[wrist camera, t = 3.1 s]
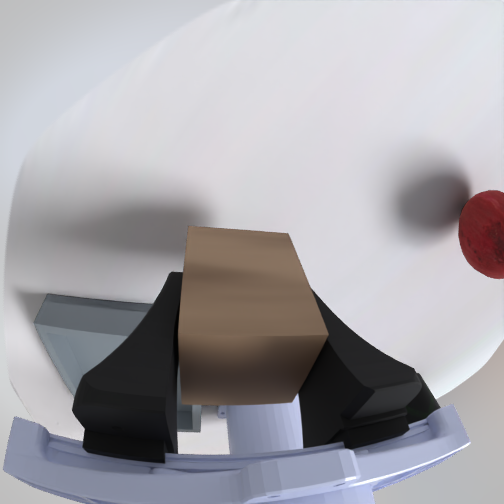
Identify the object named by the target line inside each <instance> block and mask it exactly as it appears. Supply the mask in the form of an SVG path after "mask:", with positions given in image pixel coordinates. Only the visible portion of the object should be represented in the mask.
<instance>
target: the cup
mask: <svg viewBox="0 0 504 504" xmlns="http://www.w3.org/2000/svg"><path fill="white" fill-rule="evenodd" d="M417 375H418V377H419V379H420V381H421V384H422V387H421V390H420V392H419V393H418V394H417V395H416V397H415V398H414V399H413V400H412V401H411V402H410V403H409V404H407V405H406V406H405V407H406V410H407V415H405V418H406V421H407V423H408V425H409V424H412V423H415V422H418V421H421V420H424V419H427V417H428V416H429V415H430V414H431V413H433V412H434V411H436V410H437V409H440V406H439V404H438V403H437V401H436V399H435V398H434V396H433V394H432V393H431V391H430V390H429V388H428V386H427V385H426V383H425V382H424V380H423V378H422V377H421V375H420V374H419V373H417Z"/></svg>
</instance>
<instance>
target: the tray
mask: <svg viewBox="0 0 504 504" xmlns="http://www.w3.org/2000/svg"><path fill="white" fill-rule="evenodd" d="M152 305H153V304H141V303H129V302H118V301H107V300H97V299H87V298H78V297H69V296H61V295H53V294H47V296H46V298H45V300H44V302H43V304H42V306H41V308H40V311H39V313H38V315H37V317H36V319H35V321H34V325H35V327H36V330H37V332H38V334H39V336H40V338H41V340H42V342H43V344H44V346H45V348H46V350H47V352H48V354H49V355H50V357H51V359H52V361H53V363H54V365H55V366H56V368H57V370H58V372H59V373H60V375H61V377H62V379H63V380H64V382H65V384H66V385H67V387H68V388H69V390H70V392H71V393H72V395H73V396H74V398H75V393H76V390H77V388H78V385H79V382H80V380H81V378H82V376H83V375H84V374H85V373H87V372H88V371H89V370H91V369H92V368H94V367H95V366H96V365H98V364H99V363H100V362H102V361H103V360H104V359H105V358H106V357H107V356H108V355H110V354H111V353H112V352H113V351H114V350H115V349H116V348H117V347H118V346H119V345H120V344H121V343H122V342H123V341H124V340H125V339H126V338H127V337H128V336H129V335H130V334H131V333H132V332H133V330H134V329H135V328H136V327H137V326H138V324H139V323H140V322H141V321H142V319H143V318H144V316H145V315H146V314H147V312H148V311H149V309H150V308H151V306H152ZM201 409H202V405H184V404H182V400H181V386H180V368H179V367H178V377H177V432H200V431H201Z"/></svg>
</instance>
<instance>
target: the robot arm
mask: <svg viewBox="0 0 504 504" xmlns="http://www.w3.org/2000/svg"><path fill="white" fill-rule="evenodd" d="M182 280H183V272H171V273H169V275H168V278H167V280H166V282H165V284H164V286H163V288H162V290H161V292H160V294H159V295H158V297H157V298H156V300H155V302H154V303H153V305H152V306H151V308H150V309H149V311H148V312H147V314H146V315H145V316H144V318H143V319H142V321H141V322H140V323H139V324H138V326H137V327H136V328H135V329H134V330H133V332H132V333H131V334H130V335H129V336H128V337H127V338H126V339H125V340H124V341H123V342H122V343H121V344H120V345H119V346H118V347H117V348H116V349H115V350H114V351H113V352H112V353H111V354H110V355H108V356H107V357H106V358H105V359H104V360H103V361H102V362H100V363H99V364H98V365H96V366H95V367H94V368H92V369H91V370H89V371H88V372H87V373H85V374H84V375H83V376H82V378H81V380H80V382H79V385H78V388H77V390H76V393H75V398H74V403H73V408H72V411H73V413H74V415H75V417H76V418H77V419H78V421H79V422H80V423H81V425H82V426H83V427H84V428H85V432H84V439H83V441H79V440H74V439H70V438H66V437H62V436H58V435H54V434H50V433H49V432H48V430H47V429H46V428H45V427H43V426H42V425H40V424H38V423H35V422H32V421H28V420H25V419H22V418H19V417H14V420H13V424H12V427H11V432H10V436H9V440H8V445H7V450H6V455H5V460H4V466H3V470H4V471H5V472H6V473H8V474H10V475H11V476H13V477H15V478H17V479H18V480H20V481H22V482H24V483H26V484H28V485H30V486H32V487H34V488H37V489H39V490H42V491H45V492H48V493H51V494H54V495H57V496H60V497H64V498H67V499H70V500H74V501H77V502H81V503H85V504H375V500H374V497H373V493H372V492H374V491H377V490H379V489H382V488H385V487H387V486H390V485H392V484H395V483H397V482H400V481H402V480H405V479H407V478H409V477H412V476H414V475H416V474H418V473H421V472H423V471H425V470H427V469H429V468H431V467H433V466H436V465H437V464H440V463H441V462H443V461H445V460H446V459H448V458H449V457H451V456H453V455H454V454H455V453H457V452H459V451H460V450H462V449H463V448H465V447H466V446H467V445H469V444H470V439H469V437H468V435H467V432H466V430H465V428H464V426H463V424H462V421H461V419H460V417H459V415H458V413H457V411H456V409H455V407H454V405H453V404H450V405H448V406H445V407H442V408H440V409H437V410H436V411H434V412H433V413H431V414H430V415H429V416H428V417H427V419H424V420H421V421H418V422H415V423H412V424H409V425H408V423H407V421H406V418H405V415H407V410H406V407H405V406H406V405H407V404H409V403H410V402H411V401H412V400H413V399H414V398H415V397H416V395H417V394H418V393H419V392H420V390H421V387H422V384H421V381H420V379H419V377H418V375H417V373H416V371H415V370H414V368H412V367H410V366H408V365H406V364H403V363H401V362H399V361H397V360H395V359H393V358H392V357H390V356H388V355H386V354H384V353H383V352H381V351H380V350H378V349H376V348H375V347H374V346H372V345H371V344H369V343H368V342H366V341H365V340H364V339H362V338H361V337H360V336H358V335H357V334H356V333H355V332H354V331H352V330H351V329H350V328H349V327H348V326H347V325H345V324H344V323H343V322H342V321H341V320H340V319H339V318H338V317H337V316H336V315H335V314H334V313H333V312H332V311H331V310H330V309H329V308H328V307H327V305H326V304H325V303H324V302H323V301H322V300H321V299H320V298H319V297H318V295H317V294H316V293H315V292H314V291H313V290H312V289H311V290H312V293H313V295H314V298H315V300H316V303H317V305H318V308H319V310H320V313H321V316H322V318H323V321H324V323H325V326H326V329H327V331H328V334H329V335H328V337H327V339H326V341H325V343H324V345H323V347H322V349H321V351H320V353H319V355H318V357H317V359H316V361H315V362H314V364H313V366H312V368H311V370H310V372H309V374H308V375H307V377H306V379H305V381H304V383H303V385H302V386H301V388H300V390H299V392H298V393H297V395H296V397H295V399H294V400H293V402H292V403H281V404H264V405H219V407H218V414H217V416H218V418H227V429H228V440H229V450H230V455H195V454H178V441H177V377H178V367H179V345H178V328H179V314H180V302H181V290H182ZM310 288H311V287H310Z"/></svg>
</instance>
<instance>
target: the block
mask: <svg viewBox="0 0 504 504" xmlns="http://www.w3.org/2000/svg"><path fill="white" fill-rule="evenodd" d="M328 335H329V334H328V331H327V329H326V326H325V323H324V321H323V318H322V316H321V313H320V310H319V308H318V305H317V303H316V300H315V298H314V295H313V293H312V290H311V288H310V285H309V283H308V280H307V278H306V275H305V273H304V270H303V268H302V265H301V263H300V260H299V258H298V256H297V253H296V251H295V248H294V246H293V243H292V241H291V239H290V236H289V234H288V233H277V232H264V231H251V230H238V229H224V228H210V227H195V226H188V233H187V242H186V251H185V260H184V269H183V280H182V290H181V302H180V314H179V328H178V345H179V368H180V386H181V400H182V404H184V405H264V404H281V403H292V402H293V400H294V399H295V397H296V395H297V393H298V392H299V390H300V388H301V386H302V385H303V383H304V381H305V379H306V377H307V375H308V374H309V372H310V370H311V368H312V366H313V364H314V362H315V361H316V359H317V357H318V355H319V353H320V351H321V349H322V347H323V345H324V343H325V341H326V339H327V337H328Z"/></svg>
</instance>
